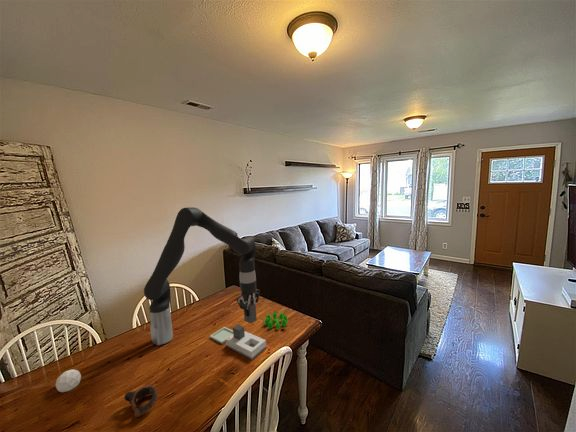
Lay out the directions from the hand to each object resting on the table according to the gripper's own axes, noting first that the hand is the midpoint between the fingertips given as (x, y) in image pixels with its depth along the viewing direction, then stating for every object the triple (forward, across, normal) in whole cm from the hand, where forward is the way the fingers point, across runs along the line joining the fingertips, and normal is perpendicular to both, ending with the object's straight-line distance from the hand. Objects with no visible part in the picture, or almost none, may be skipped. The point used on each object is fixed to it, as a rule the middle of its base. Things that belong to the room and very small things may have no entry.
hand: (250, 313), depth 117 cm
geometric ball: (+19, -58, +47) cm, 77 cm away
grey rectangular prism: (+3, 0, 0) cm, 3 cm away
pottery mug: (+20, -44, +15) cm, 51 cm away
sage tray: (+19, 0, +22) cm, 29 cm away
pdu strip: (+19, 0, +4) cm, 19 cm away
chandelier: (+19, +25, +5) cm, 32 cm away
